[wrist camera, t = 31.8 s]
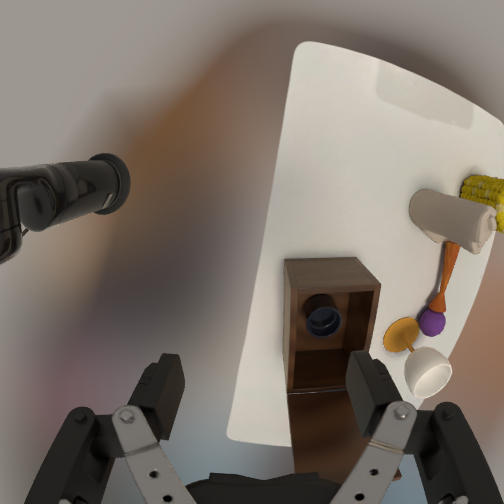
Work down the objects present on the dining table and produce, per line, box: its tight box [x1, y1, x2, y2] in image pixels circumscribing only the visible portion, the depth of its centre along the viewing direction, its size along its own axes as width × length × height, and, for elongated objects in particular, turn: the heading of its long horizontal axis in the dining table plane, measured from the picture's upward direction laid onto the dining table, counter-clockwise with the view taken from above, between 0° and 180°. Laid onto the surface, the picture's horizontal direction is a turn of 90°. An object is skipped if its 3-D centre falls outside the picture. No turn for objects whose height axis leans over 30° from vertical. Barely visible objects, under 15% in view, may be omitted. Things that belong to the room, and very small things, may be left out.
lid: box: [287, 389, 402, 484], centre depth 32 cm, size 21×13×5 cm
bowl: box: [303, 295, 342, 338], centre depth 48 cm, size 6×6×5 cm
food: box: [461, 175, 504, 233], centre depth 37 cm, size 15×12×10 cm
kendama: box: [420, 241, 460, 337], centre depth 47 cm, size 6×6×20 cm
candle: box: [409, 189, 497, 254], centre depth 36 cm, size 7×14×20 cm, turn 57°
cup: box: [383, 317, 452, 399], centre depth 45 cm, size 9×9×16 cm
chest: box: [283, 257, 381, 394], centre depth 46 cm, size 20×13×12 cm, turn 2°
